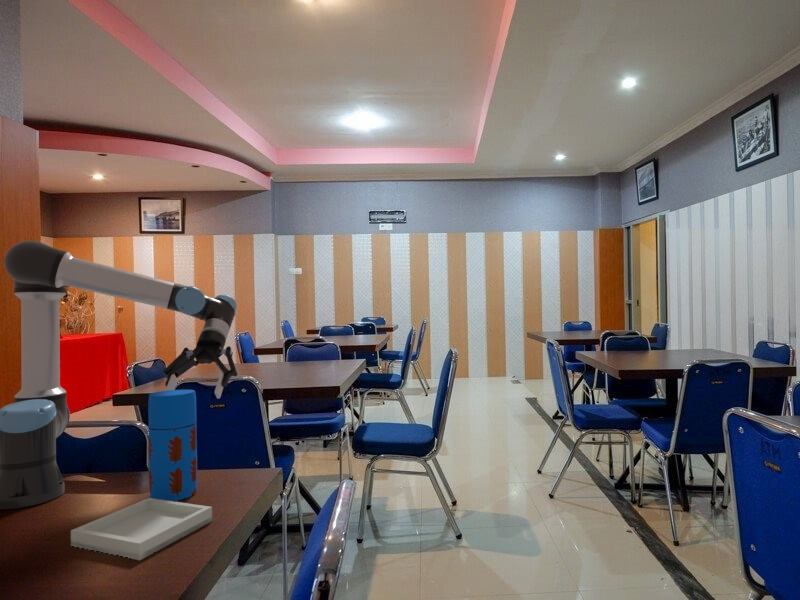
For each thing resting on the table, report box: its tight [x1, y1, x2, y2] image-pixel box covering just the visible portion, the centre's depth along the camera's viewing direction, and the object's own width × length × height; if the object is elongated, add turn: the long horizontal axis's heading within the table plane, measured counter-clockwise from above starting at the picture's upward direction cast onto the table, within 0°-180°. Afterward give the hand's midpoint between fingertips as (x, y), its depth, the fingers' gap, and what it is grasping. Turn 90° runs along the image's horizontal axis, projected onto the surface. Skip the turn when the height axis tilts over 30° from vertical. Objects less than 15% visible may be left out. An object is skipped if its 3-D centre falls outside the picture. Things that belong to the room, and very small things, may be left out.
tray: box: [70, 497, 213, 561], centre depth 102 cm, size 18×18×3 cm
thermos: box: [147, 389, 198, 502], centre depth 124 cm, size 11×11×25 cm
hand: (192, 396), depth 134 cm, fingers open, 13 cm apart
